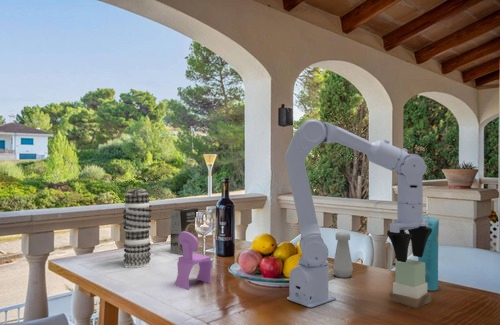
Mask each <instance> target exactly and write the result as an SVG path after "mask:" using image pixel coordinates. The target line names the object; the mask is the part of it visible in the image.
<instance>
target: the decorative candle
mask: <svg viewBox="0 0 500 325" xmlns="http://www.w3.org/2000/svg"><path fill="white" fill-rule="evenodd" d="M124 196H125V198H124V199H125V202H124V208H125V209H123V211H122V214H123V216H122V218H123V220H124V221H123V225H124V226H123V231H125V238H124V244H123V247H124V249H123V251H124V254H123V257H124V259H123V262H124V264H123V266H124V265H125V266H127V267H141V268H144V267H143V266H146V265H149V264H150V263H151V259H152V258H151V255H152V253H151V252H150V251H151V250H152V247H151V245H152V244H151V242H150V230H151V225H149V223H152V220H151V219H150V218H152V215H150V214H149V213H151V212H152V210H153V209H151V207H152V205H150V192H148V191H147V189H145V188H129V189H128V190H127V191H126V193H124ZM150 265H151V264H150ZM150 265H149V266H150ZM125 266H124V267H125ZM127 267H126V268H127ZM146 267H147V266H146Z"/></svg>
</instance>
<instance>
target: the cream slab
mask: <svg viewBox="0 0 500 325" xmlns="http://www.w3.org/2000/svg"><path fill="white" fill-rule="evenodd" d="M392 291H393V293H394V294H398V295H403V296H407V297H411V298H416V299H419V298H420V297H422V296H423V295H425V294H427V293H428V290H427V283H426V282H425V283H424V284H421V285H419V286H416V287H412V286H408V285H404V284H400V283H396V282H395V281H394V282H392Z"/></svg>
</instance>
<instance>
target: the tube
mask: <svg viewBox="0 0 500 325" xmlns="http://www.w3.org/2000/svg"><path fill="white" fill-rule="evenodd" d="M423 218H425V219H428V227H426V228H431V229H432V232H431V234H430V235H429V237H428V239H427V242H426V245H425V249H424V253H423V256H422V257H417V261H420V262H425V282H426V283H427V291H438V290H439V229H440V228H439V226H440V218H439V217H438V218H436V217H430V216H426V215H423Z"/></svg>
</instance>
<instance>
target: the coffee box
mask: <svg viewBox="0 0 500 325" xmlns="http://www.w3.org/2000/svg"><path fill="white" fill-rule="evenodd" d="M196 212H198V213H199V208H198V207H197V208H196V207H185V208H184V207H183V208H175V209H170V253H171V252H172V253H173V254H177V253H178V255H183V250H182V245H181V244H180V243H179V240H178V236H179V234H180V233H181V232H183V231H185V232H189V233H191V234H193V235H194V236H195V237H196V238H197V239H198V240H199V232H198V233H197V232H196V230H195V217H196ZM198 250H199V247H198V248H197V251H198ZM194 252H196V250H195V251H194Z"/></svg>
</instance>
